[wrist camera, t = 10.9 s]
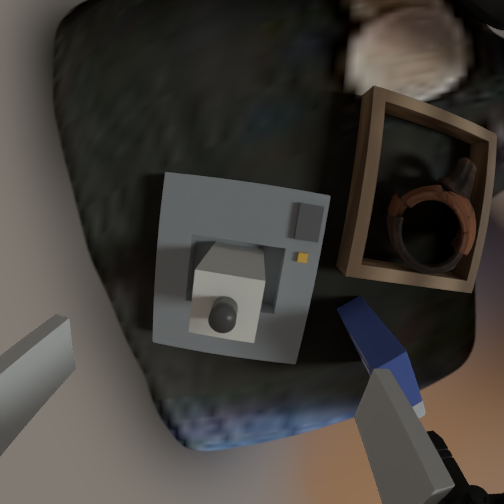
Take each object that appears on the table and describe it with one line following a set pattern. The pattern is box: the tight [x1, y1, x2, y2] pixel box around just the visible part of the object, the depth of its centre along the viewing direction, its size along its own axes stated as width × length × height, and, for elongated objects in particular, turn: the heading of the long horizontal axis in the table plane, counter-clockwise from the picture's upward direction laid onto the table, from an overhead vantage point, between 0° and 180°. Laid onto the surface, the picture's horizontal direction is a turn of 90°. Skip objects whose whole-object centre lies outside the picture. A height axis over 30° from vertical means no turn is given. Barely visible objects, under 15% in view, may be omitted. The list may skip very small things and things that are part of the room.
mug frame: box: [336, 86, 497, 293], centre depth 26 cm, size 15×17×4 cm
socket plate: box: [153, 172, 330, 364], centre depth 28 cm, size 14×16×4 cm
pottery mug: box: [386, 157, 476, 274], centre depth 26 cm, size 12×10×8 cm
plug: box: [189, 241, 266, 343], centre depth 24 cm, size 4×4×12 cm
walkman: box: [337, 296, 426, 418], centre depth 25 cm, size 8×3×12 cm, turn 29°
